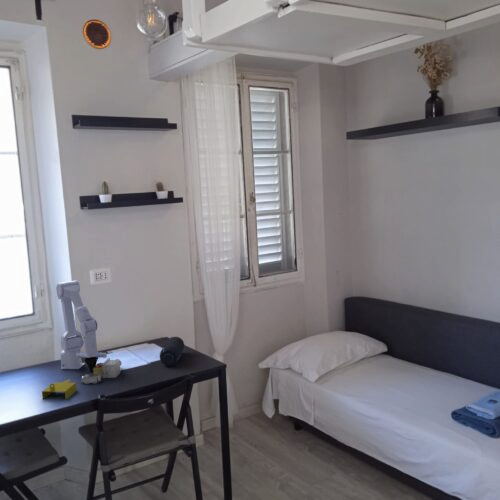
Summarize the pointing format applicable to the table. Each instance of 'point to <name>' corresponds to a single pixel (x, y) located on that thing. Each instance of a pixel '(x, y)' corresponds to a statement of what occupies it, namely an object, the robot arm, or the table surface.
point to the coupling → (111, 368)
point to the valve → (98, 369)
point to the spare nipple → (91, 378)
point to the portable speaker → (172, 351)
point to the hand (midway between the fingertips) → (92, 372)
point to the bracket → (60, 388)
